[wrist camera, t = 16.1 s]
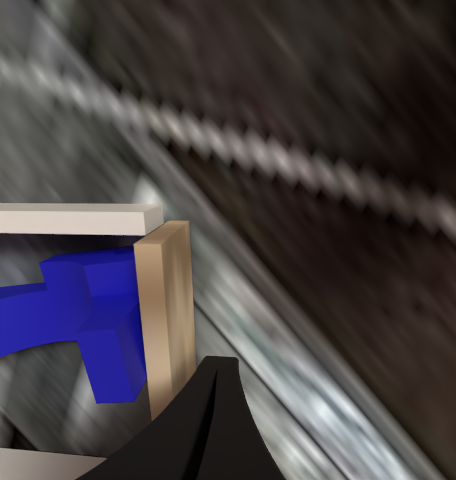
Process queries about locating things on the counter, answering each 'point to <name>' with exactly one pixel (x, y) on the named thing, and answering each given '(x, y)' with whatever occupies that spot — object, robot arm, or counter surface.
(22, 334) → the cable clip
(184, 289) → the board
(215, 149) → the counter surface
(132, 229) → the cream square rimmed piece
